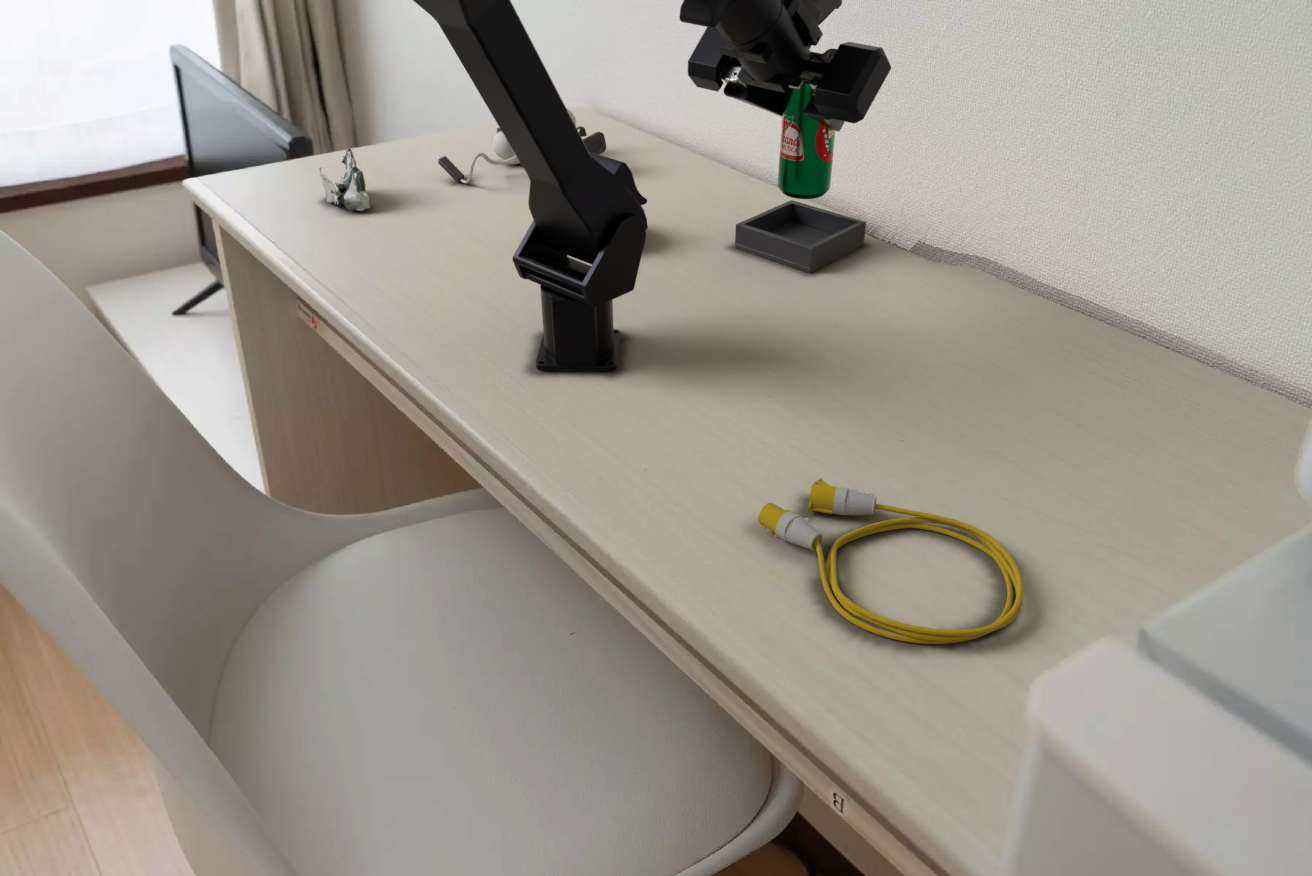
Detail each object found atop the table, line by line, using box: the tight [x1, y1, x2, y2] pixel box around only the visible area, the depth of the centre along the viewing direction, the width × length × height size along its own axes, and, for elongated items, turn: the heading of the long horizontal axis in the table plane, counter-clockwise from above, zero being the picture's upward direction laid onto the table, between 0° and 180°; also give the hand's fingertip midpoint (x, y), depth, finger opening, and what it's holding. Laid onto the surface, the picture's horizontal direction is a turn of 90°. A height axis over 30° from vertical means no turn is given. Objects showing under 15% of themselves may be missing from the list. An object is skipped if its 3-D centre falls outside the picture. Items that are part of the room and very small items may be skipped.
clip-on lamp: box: [436, 107, 607, 184], centre depth 124 cm, size 12×6×18 cm
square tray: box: [734, 199, 867, 274], centre depth 106 cm, size 9×9×2 cm
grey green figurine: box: [318, 147, 371, 212], centre depth 115 cm, size 4×8×7 cm, turn 31°
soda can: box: [777, 81, 836, 200], centre depth 100 cm, size 5×5×12 cm
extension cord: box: [757, 478, 1024, 645], centre depth 64 cm, size 12×16×2 cm
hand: (817, 121), depth 101 cm, fingers closed on soda can, 5 cm apart
